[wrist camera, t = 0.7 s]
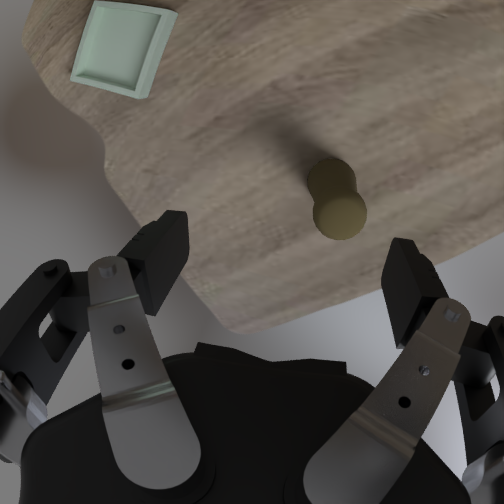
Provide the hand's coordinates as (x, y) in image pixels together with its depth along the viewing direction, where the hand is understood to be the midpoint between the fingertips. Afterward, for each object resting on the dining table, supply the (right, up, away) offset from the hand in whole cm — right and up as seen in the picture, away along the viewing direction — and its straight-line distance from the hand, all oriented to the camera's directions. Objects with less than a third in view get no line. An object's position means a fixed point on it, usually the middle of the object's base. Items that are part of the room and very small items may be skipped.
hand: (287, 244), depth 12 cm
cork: (+8, +8, +25) cm, 27 cm away
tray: (-18, +26, +18) cm, 36 cm away
